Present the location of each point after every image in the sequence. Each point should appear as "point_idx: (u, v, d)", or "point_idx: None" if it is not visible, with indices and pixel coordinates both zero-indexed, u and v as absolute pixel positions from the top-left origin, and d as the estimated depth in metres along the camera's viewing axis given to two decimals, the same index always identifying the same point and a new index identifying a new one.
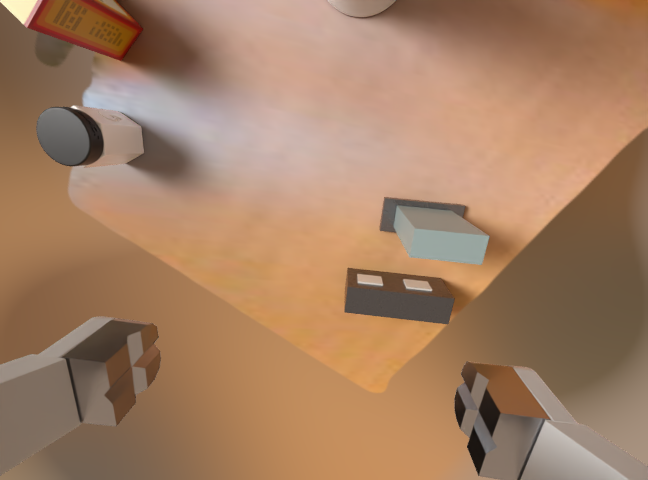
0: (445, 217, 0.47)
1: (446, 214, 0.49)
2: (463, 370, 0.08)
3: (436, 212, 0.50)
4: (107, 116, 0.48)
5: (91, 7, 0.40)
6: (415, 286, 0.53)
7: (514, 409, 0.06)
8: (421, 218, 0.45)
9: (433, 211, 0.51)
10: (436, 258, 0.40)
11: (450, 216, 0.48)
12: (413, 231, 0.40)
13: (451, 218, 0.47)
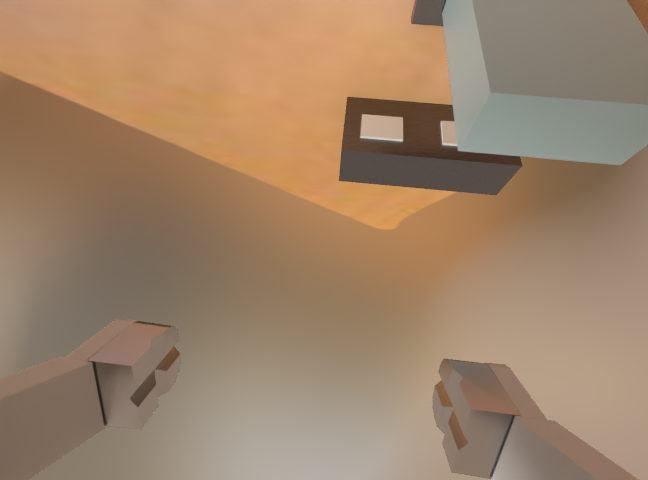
0: (581, 4, 0.18)
1: None
2: (440, 367, 0.08)
3: None
4: None
5: None
6: None
7: (485, 405, 0.06)
8: (516, 22, 0.17)
9: None
10: (519, 153, 0.18)
11: None
12: (484, 96, 0.15)
13: (596, 8, 0.18)
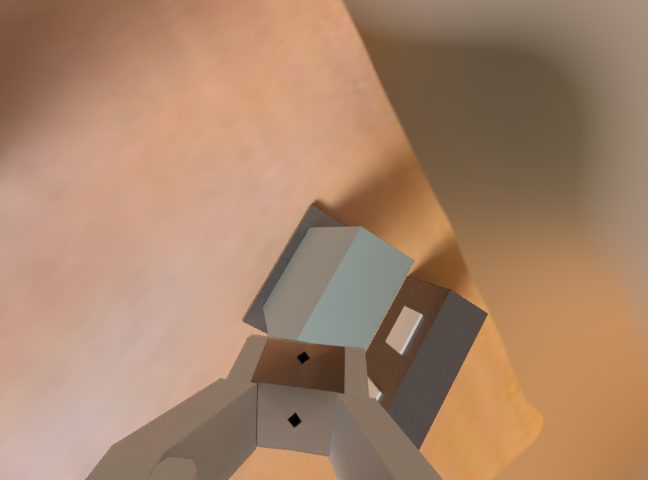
0: (306, 257, 0.26)
1: (306, 246, 0.28)
2: None
3: (297, 258, 0.29)
4: None
5: None
6: (404, 336, 0.30)
7: (315, 384, 0.06)
8: (284, 308, 0.23)
9: (294, 260, 0.29)
10: (363, 347, 0.18)
11: (310, 244, 0.27)
12: None
13: (312, 249, 0.25)
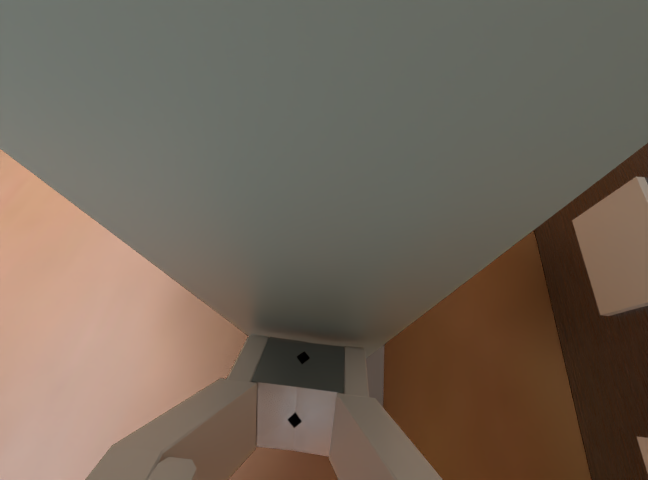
0: None
1: None
2: None
3: None
4: None
5: None
6: None
7: (315, 384, 0.06)
8: None
9: None
10: None
11: None
12: None
13: None
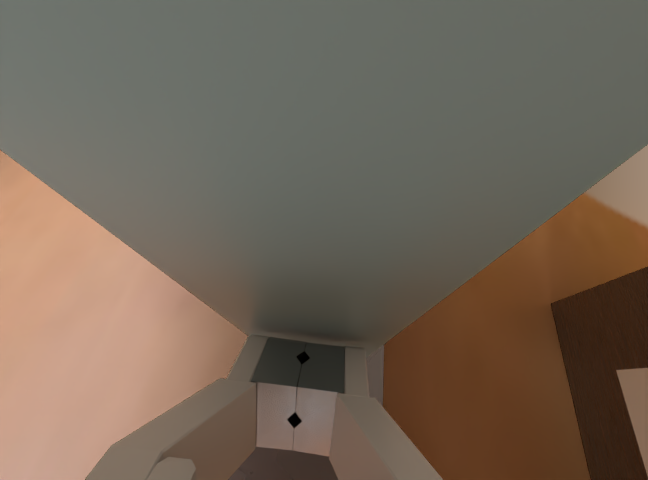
0: None
1: None
2: None
3: None
4: None
5: None
6: None
7: (315, 384, 0.06)
8: None
9: None
10: None
11: None
12: None
13: None
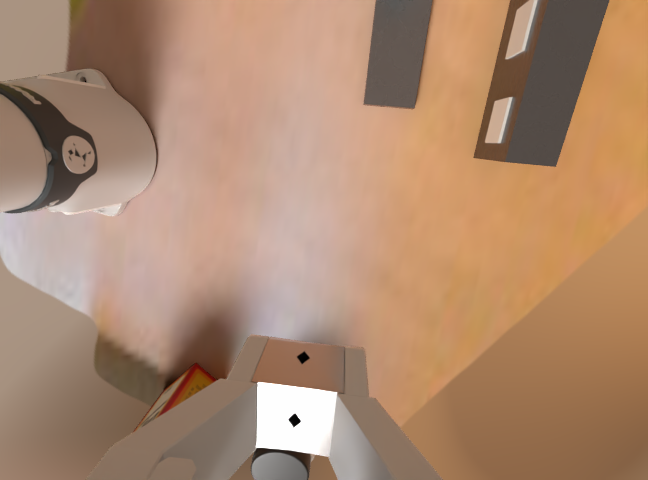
0: None
1: None
2: None
3: None
4: None
5: None
6: (523, 32, 0.29)
7: (315, 384, 0.06)
8: None
9: None
10: None
11: None
12: None
13: None
